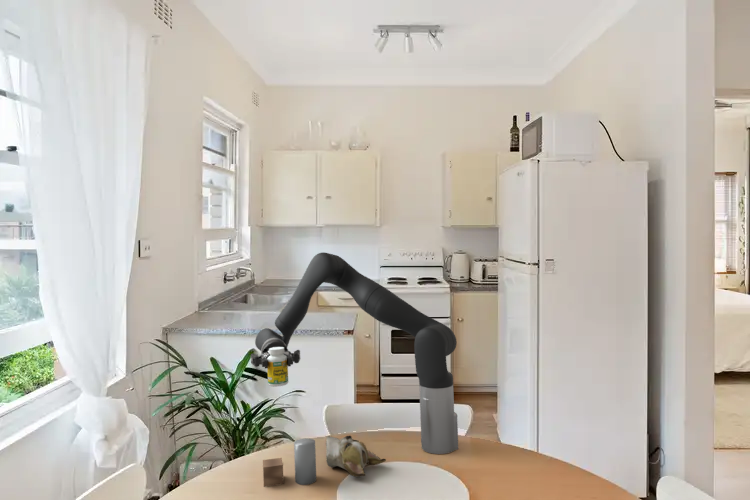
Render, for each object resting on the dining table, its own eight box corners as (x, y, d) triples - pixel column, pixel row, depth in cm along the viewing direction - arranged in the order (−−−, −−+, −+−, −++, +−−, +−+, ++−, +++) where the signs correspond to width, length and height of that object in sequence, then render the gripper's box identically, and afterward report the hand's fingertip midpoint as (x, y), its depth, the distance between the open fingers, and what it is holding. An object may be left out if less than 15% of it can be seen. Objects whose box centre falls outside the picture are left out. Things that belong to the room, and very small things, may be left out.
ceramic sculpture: (339, 423, 132) (387, 436, 124) (339, 455, 132) (387, 470, 124) (313, 436, 123) (363, 451, 115) (313, 471, 123) (363, 488, 115)
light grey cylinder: (314, 474, 121) (313, 437, 121) (317, 483, 116) (316, 444, 117) (294, 477, 120) (293, 439, 120) (296, 486, 115) (295, 447, 115)
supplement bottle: (283, 380, 136) (282, 345, 136) (291, 384, 131) (290, 348, 131) (264, 384, 133) (263, 348, 133) (272, 388, 128) (271, 350, 128)
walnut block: (282, 476, 121) (281, 457, 121) (283, 484, 117) (282, 464, 117) (263, 478, 120) (262, 460, 120) (263, 487, 115) (263, 467, 116)
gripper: (248, 341, 144) (249, 351, 128) (298, 337, 148) (305, 346, 131) (249, 366, 144) (250, 380, 128) (299, 362, 148) (306, 375, 131)
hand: (278, 363), depth 130 cm, fingers closed on supplement bottle, 5 cm apart
